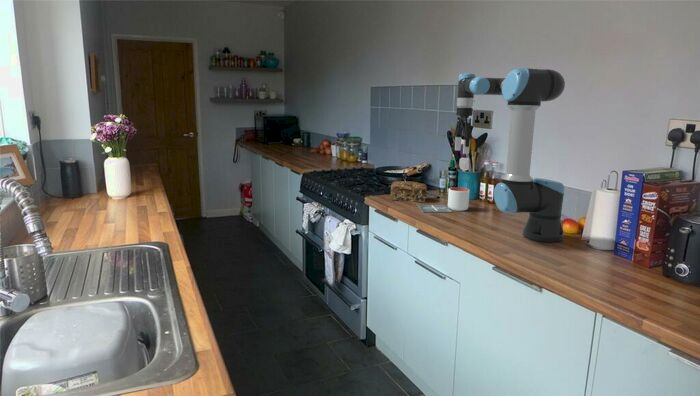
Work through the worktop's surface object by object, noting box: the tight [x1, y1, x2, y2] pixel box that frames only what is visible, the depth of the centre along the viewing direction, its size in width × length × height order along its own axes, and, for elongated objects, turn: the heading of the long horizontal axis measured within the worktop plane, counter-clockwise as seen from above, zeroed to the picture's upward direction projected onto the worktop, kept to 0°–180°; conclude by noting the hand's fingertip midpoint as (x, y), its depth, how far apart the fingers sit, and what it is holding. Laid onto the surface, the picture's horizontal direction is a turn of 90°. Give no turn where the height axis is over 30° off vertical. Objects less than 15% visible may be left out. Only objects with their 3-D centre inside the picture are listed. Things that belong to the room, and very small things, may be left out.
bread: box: [390, 180, 428, 203], centre depth 250 cm, size 19×11×10 cm, turn 78°
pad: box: [417, 204, 453, 214], centre depth 231 cm, size 14×14×1 cm
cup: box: [447, 187, 471, 212], centre depth 231 cm, size 10×10×10 cm
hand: (461, 152), depth 226 cm, fingers open, 13 cm apart
